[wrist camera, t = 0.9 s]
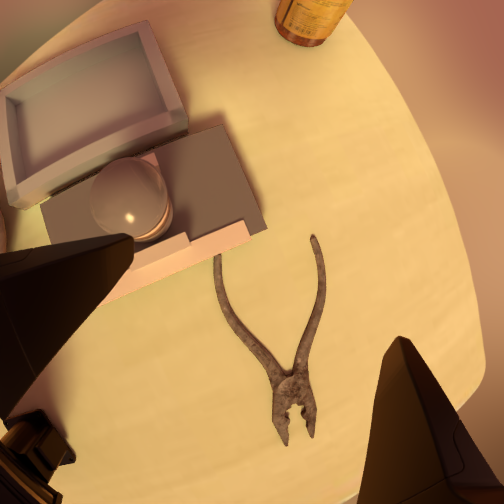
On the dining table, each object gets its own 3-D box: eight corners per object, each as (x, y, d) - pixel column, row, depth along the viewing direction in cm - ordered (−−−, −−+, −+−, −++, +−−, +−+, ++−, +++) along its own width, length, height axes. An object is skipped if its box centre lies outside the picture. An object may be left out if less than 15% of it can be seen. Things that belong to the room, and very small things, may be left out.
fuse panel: (87, 311, 22) (69, 320, 18) (49, 208, 22) (28, 200, 18) (262, 234, 25) (276, 229, 21) (219, 133, 25) (225, 113, 21)
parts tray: (25, 210, 21) (8, 205, 18) (8, 105, 20) (-5, 93, 17) (188, 133, 24) (188, 118, 21) (149, 38, 23) (147, 19, 20)
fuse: (130, 252, 21) (104, 250, 14) (110, 200, 21) (80, 177, 14) (182, 229, 22) (178, 217, 15) (161, 177, 22) (150, 145, 15)
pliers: (310, 216, 26) (370, 405, 27) (306, 217, 27) (366, 402, 28) (201, 259, 24) (285, 450, 25) (200, 259, 25) (283, 446, 26)
